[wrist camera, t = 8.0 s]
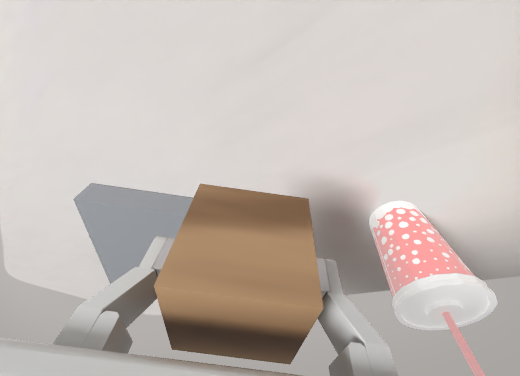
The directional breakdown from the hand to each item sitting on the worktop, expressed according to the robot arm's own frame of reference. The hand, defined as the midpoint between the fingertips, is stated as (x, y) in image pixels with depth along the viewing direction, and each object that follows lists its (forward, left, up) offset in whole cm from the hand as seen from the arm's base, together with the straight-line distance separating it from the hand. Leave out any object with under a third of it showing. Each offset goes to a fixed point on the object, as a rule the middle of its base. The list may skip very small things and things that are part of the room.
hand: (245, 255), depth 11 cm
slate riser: (+14, -9, -11) cm, 20 cm away
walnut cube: (0, 0, -2) cm, 2 cm away
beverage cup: (+6, +14, -11) cm, 19 cm away
